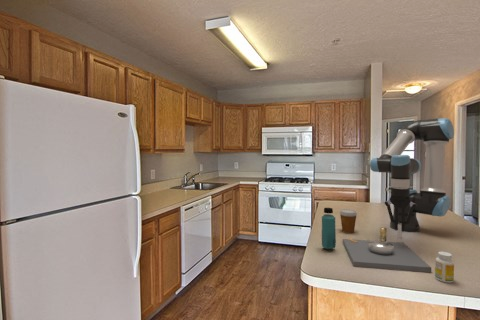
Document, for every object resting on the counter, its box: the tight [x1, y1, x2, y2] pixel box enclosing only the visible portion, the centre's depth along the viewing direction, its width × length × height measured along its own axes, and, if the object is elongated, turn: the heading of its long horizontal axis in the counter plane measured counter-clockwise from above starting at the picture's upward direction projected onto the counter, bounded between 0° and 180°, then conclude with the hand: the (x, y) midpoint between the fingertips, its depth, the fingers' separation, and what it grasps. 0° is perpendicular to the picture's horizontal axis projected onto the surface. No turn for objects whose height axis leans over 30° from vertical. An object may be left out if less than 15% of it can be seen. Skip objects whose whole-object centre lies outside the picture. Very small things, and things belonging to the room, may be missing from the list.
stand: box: [342, 238, 432, 273], centre depth 118 cm, size 28×28×2 cm
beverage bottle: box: [321, 207, 337, 250], centre depth 125 cm, size 6×7×20 cm
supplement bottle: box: [434, 251, 455, 284], centre depth 95 cm, size 5×5×10 cm
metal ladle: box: [368, 226, 394, 255], centre depth 121 cm, size 19×10×7 cm, turn 147°
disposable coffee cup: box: [339, 208, 358, 234], centre depth 152 cm, size 10×10×12 cm
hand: (399, 237), depth 124 cm, fingers closed
